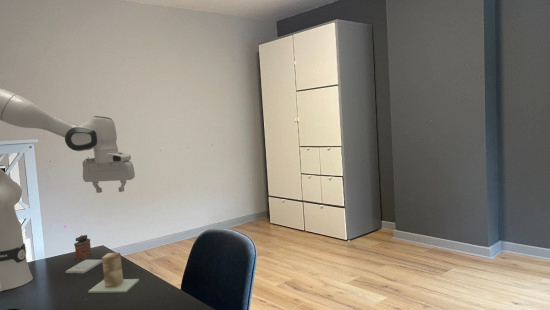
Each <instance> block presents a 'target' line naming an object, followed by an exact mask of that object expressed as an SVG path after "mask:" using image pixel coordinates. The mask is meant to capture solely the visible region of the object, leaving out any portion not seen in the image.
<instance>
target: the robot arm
mask: <svg viewBox="0 0 550 310" xmlns="http://www.w3.org/2000/svg"><path fill="white" fill-rule="evenodd" d="M0 121H1V122H4V123H6V124H7V125H8V124H9V125H11V126H16V127H19V128H22V129H23V128H24V129H38V130H43V131H48V132H49V133H52V134H55V135H57V136H60V137H62V138H64V142H65V144H66V146H67V147H68V148H69V149H71V150H73V151H76V152H84V151H90V150H93V155H94V156H93V157H92V158H90V157H89V158H88V157H87V158H85V159H84V160H83V161H82V180H83V181H84V182H85V183H92V185H93V187H94V189H95V193H97V194H100V193H102V192H103V187H100V185H99V182H113V181H115V182H116V181H119V183H120V187H119V186H118V192H119V193H124V192H125V186H126V184H127V181H130V180H134V179H135V177H136V176H135V175H136V174H135V168H134V164H133V162H132V161H131V160H132V156H131V154H128V153H124V152H121V151H119V148H118V145H117V141H118V139H117V138H118V137H117V136H118V134H117V129H116V125H115V121H114V120H113V119H112V118H110V117H106V116H99V115H95V116H92V117H91V118H90V119H89V120H87V121H85V122H83V123H81V124H79V125H78V124H74V123H71V122H69V121H66V120H65V119H62V118H59V117H57V116H55V115H53V114H51V113H49V112H47V111H45V110H44V109H43V108H41V107H40V106H38V105H36V104H35V103H33V101H30V100H29V99H28V98H25V97H23V96H22V95H20V94H17V93H14V92H13V91H9V90H7V89H3V88H1V87H0ZM22 193H23V190H22V187H21V186H20V184H19V183H17V182H15V180H13V179H12V178H11V177H10V176H9V175H8V174H7V173H6V172H5V171H4V170H3V169H2V168H0V292H3V291H7V290H12V289H15V288H19V287H21V286H24V285H26V284H28V283H30V282H31V281H33V280H34V277H33V275H32V272H31V270H30V268H29V263H28V260H27V250H26V249H27V248H26V244H25V243H24V238H23V237H24V236H23V229H22V224H21V222H20V219H18V215H17V213H16V207H15V206H16V205H17V204H18V203H19V202H20V200H21V198H22Z"/></svg>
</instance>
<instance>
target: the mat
mask: <svg viewBox="0 0 550 310" xmlns="http://www.w3.org/2000/svg"><path fill="white" fill-rule="evenodd" d="M139 281H140V279H139V278H129V279H128V278H127V279H126V278H123V283H122V284H121V285H119V286H118V287H113V288H105V281H104V279H102V280H101V281H100V282H98V283H97V284H96V285H94V286H93V287H91V289H89V290H88V291H87V292H88V293H89V294H90V293H94V294H95V293H96V294H98V293H107V294H108V293H110V294H111V293H127V292H129V291H130V290H131V289H132V288H133V287H134V286H135V285H136V284H137V283H138V282H139Z"/></svg>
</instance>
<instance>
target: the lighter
mask: <svg viewBox="0 0 550 310" xmlns="http://www.w3.org/2000/svg"><path fill="white" fill-rule="evenodd" d="M73 245H74V249H75V261H76V262H82V261H84V260H87V259H88V258H90V257H92V255H93V253H92V249H91V248H92V247H91V238H88V234H83V235H80V236H78V237H75V243H73Z"/></svg>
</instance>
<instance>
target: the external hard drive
mask: <svg viewBox="0 0 550 310" xmlns="http://www.w3.org/2000/svg"><path fill="white" fill-rule="evenodd" d="M100 264H103V263H102V259H84V260H81V261H80V262H78V263H77V264H75V265H73V266H72V267H70V268H69V269H66V270H65V274H85V273H86V272H88V271H90V270H92V269H93V268H94V267H95V268H96V267H97V266H98V265H100Z"/></svg>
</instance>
